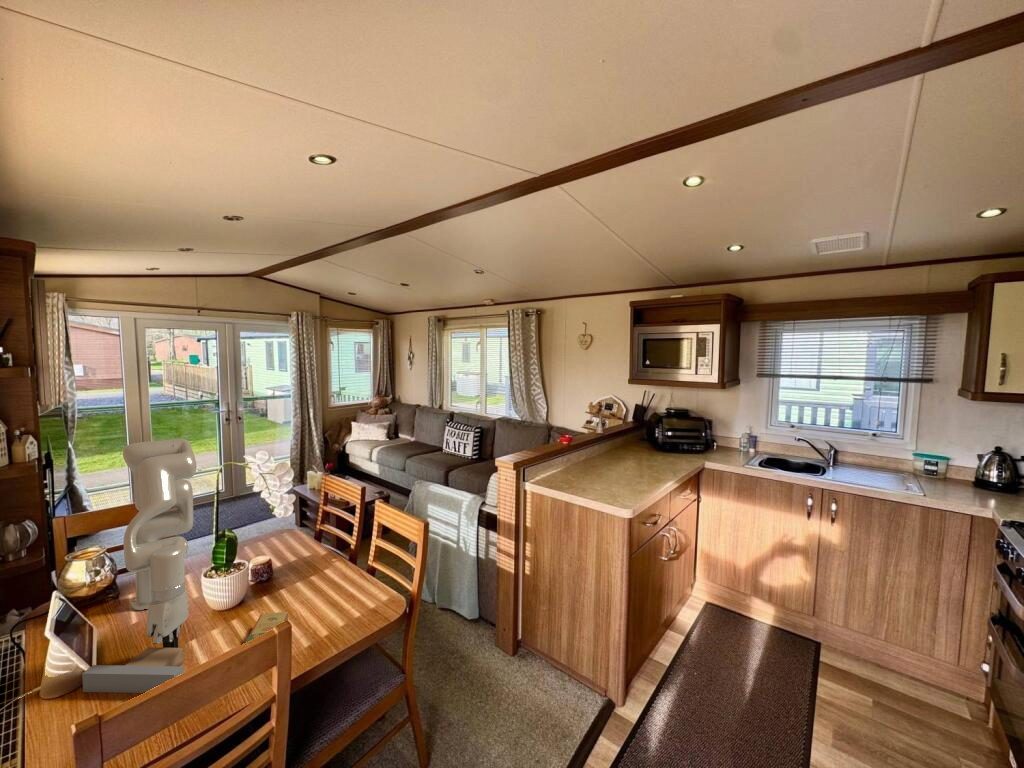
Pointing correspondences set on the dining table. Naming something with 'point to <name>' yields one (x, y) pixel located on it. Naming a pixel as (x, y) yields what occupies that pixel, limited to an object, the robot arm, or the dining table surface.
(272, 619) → the carton
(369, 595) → the dining table surface
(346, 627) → the dining table surface
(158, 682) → the board
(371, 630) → the dining table surface
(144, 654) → the walnut block
